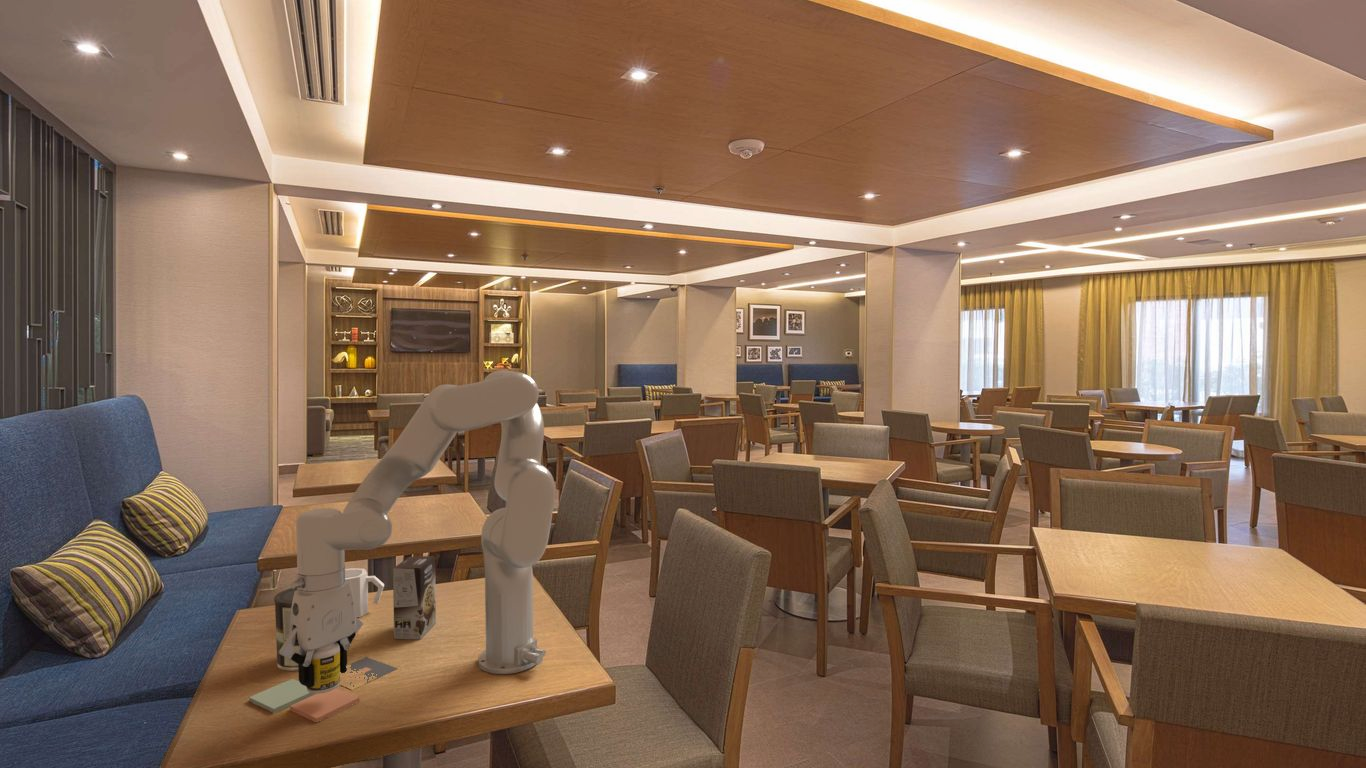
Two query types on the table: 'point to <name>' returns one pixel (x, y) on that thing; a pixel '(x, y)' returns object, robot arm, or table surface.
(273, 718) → the table surface
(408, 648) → the table surface
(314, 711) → the pad terracotta
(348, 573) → the mug
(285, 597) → the coffee can
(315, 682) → the supplement bottle
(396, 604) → the coffee box
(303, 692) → the pad sage
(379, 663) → the tile
